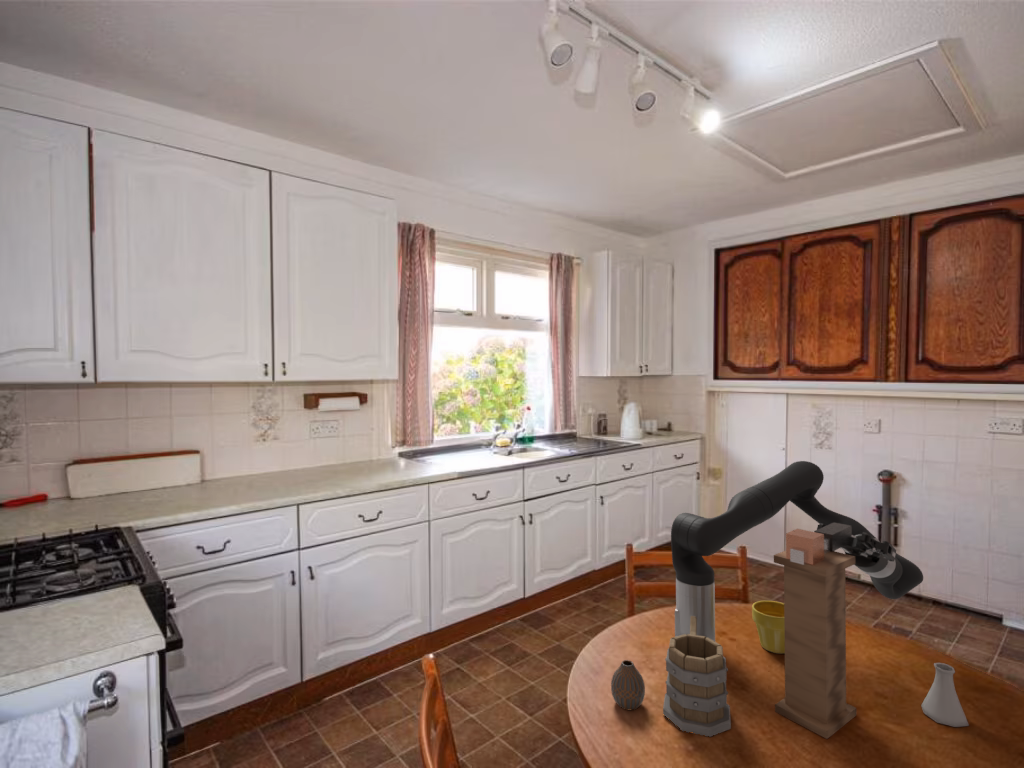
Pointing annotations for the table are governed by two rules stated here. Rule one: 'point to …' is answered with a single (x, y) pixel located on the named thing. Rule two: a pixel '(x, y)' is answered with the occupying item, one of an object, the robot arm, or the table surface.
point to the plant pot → (770, 625)
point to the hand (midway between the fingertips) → (841, 532)
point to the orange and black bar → (816, 543)
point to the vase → (627, 686)
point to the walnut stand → (815, 643)
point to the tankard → (696, 684)
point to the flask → (944, 699)
